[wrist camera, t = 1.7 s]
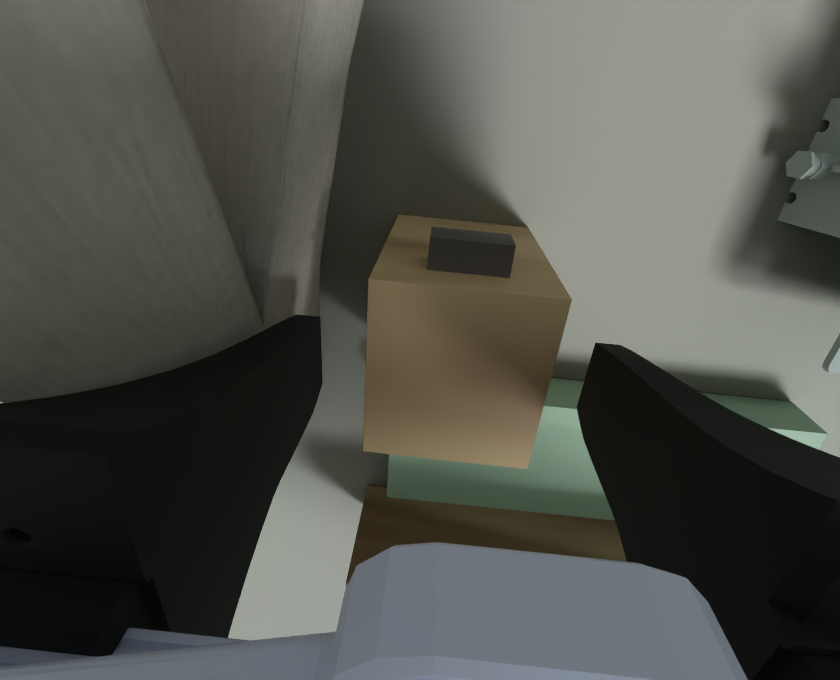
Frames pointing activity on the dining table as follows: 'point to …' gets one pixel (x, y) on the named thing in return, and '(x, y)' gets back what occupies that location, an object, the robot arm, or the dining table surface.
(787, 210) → the metal bracket
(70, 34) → the white letter a
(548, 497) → the cleat ledge
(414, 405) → the cabinet block
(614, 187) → the dining table surface
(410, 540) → the wall board
